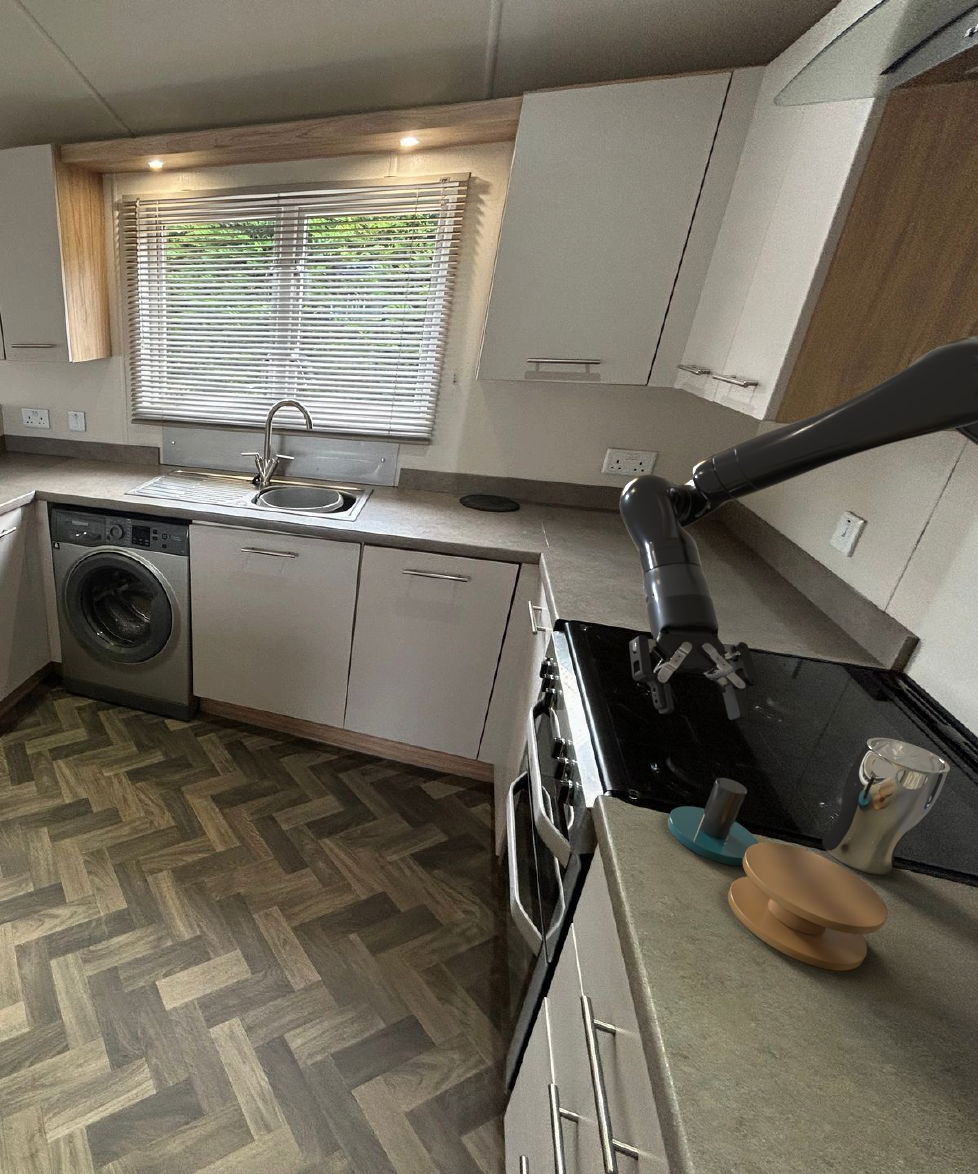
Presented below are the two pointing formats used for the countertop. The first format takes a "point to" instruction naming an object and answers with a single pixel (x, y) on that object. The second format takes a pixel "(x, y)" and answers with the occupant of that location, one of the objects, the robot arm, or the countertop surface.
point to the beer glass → (884, 803)
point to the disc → (714, 825)
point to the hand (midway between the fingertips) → (702, 716)
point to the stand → (806, 906)
